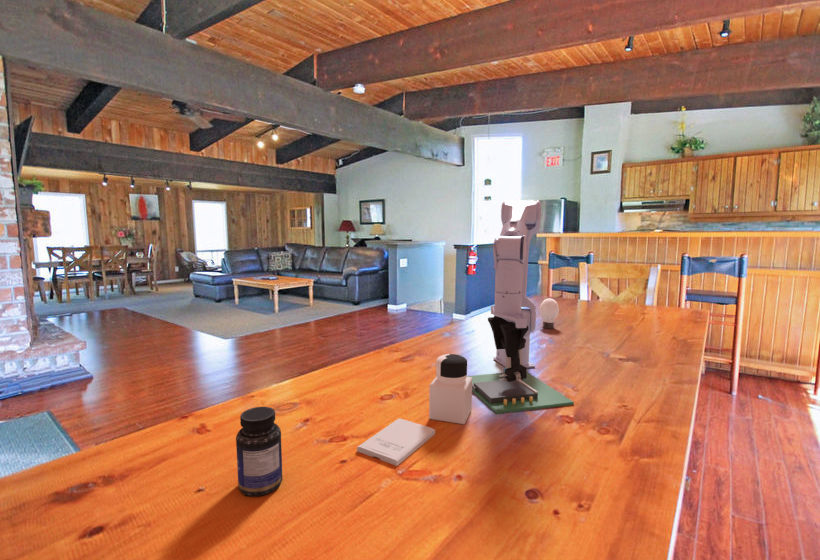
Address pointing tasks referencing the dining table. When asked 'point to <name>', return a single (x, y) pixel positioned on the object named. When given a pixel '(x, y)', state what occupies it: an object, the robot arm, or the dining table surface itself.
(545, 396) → the circuit board
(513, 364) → the push button
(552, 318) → the light bulb
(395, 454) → the external hard drive
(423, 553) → the dining table surface
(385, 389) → the dining table surface
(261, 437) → the pill bottle
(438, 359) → the medicine bottle
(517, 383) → the pad
